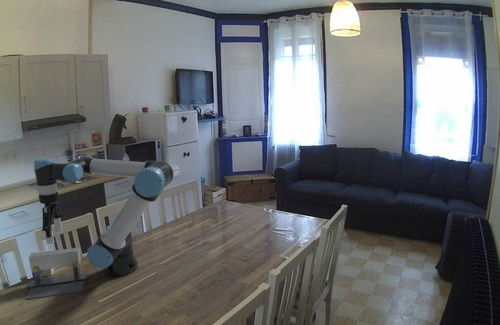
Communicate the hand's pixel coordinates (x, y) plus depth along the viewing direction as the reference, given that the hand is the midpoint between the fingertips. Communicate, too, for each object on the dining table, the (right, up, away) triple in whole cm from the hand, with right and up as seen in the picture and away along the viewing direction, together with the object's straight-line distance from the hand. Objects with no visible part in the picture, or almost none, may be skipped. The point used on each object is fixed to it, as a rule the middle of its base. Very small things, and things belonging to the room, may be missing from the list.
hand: (54, 237), depth 155 cm
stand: (-1, -22, +5) cm, 22 cm away
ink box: (-12, -21, +11) cm, 26 cm away
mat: (+2, -23, -3) cm, 24 cm away
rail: (-1, -14, +3) cm, 14 cm away
